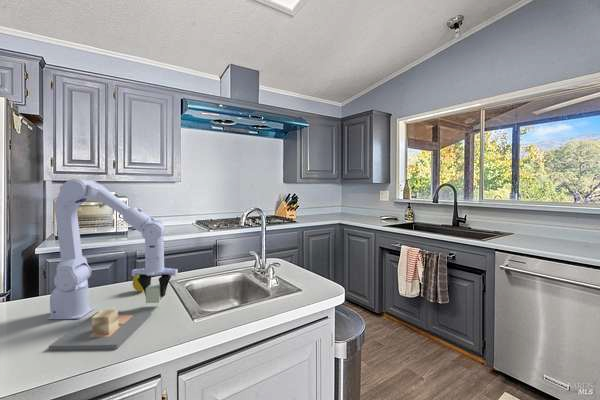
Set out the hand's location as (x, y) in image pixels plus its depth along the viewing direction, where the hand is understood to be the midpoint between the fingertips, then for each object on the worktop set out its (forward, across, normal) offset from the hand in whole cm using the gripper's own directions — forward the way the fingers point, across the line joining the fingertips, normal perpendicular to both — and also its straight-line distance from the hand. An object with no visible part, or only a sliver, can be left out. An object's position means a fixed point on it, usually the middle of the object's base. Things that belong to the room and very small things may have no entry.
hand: (155, 296), depth 98 cm
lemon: (+4, -12, +14) cm, 19 cm away
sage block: (+1, 0, 0) cm, 1 cm away
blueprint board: (+4, -7, -15) cm, 17 cm away
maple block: (+3, -6, -18) cm, 19 cm away
